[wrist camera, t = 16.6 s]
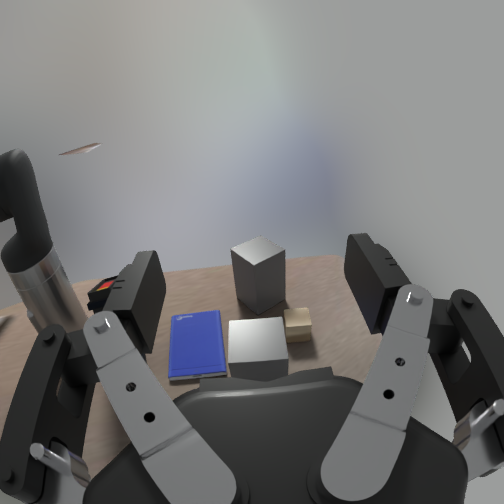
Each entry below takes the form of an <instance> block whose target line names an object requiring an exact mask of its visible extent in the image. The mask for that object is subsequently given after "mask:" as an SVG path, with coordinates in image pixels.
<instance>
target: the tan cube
mask: <svg viewBox="0 0 504 504" xmlns="http://www.w3.org/2000/svg"><path fill="white" fill-rule="evenodd" d="M311 326H312V324H311V320H310V315H309V311H308V308H296V309H284V331H285V339H286V343H292V342H303V341H310V336H311Z"/></svg>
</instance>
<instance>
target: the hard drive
mask: <svg viewBox="0 0 504 504" xmlns="http://www.w3.org/2000/svg"><path fill="white" fill-rule="evenodd" d="M220 375H227V369H226V360H225V352H224V343H223V334H222V325H221V316H220V311H219V310H213V311H205V312H198V313H190V314H182V315H174V316H172V319H171V334H170V352H169V374H168V378H169V380H170V381H171V380H182V379H193V378H202V377H211V376H220Z"/></svg>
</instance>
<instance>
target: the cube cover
mask: <svg viewBox="0 0 504 504" xmlns="http://www.w3.org/2000/svg"><path fill="white" fill-rule="evenodd" d="M288 360H289V358H288V352H287V345H286V339H285V332H284V326H283V320H282V317H274V318H262V319H249V320H234V321H229V347H228V365H229V369H230V373H231V377H233V378H240V379H246V380H254V381H261V382H269V381H272V380H275V379H278V378H281V377H284V376H287V375H288Z"/></svg>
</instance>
